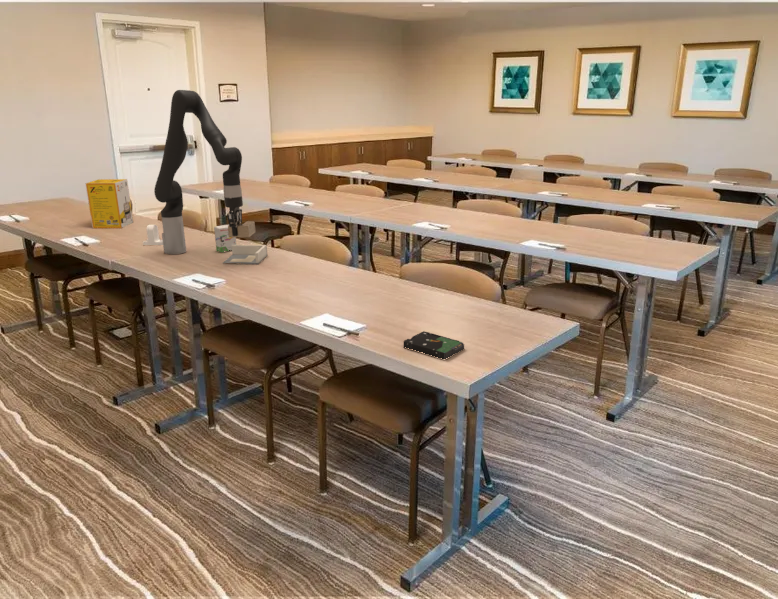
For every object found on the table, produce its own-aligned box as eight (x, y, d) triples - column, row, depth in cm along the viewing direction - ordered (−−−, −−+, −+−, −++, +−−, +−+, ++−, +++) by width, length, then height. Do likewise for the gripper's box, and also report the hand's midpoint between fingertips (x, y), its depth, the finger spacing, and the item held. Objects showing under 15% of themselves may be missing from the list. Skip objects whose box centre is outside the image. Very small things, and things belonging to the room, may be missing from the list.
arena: (222, 263, 272) (221, 252, 271) (233, 255, 287) (232, 244, 285) (258, 264, 271) (257, 253, 270) (267, 255, 285) (266, 245, 284)
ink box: (220, 253, 291) (218, 228, 287) (216, 251, 295) (213, 226, 291) (237, 250, 296) (235, 225, 292) (232, 248, 300) (230, 224, 296)
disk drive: (402, 350, 182) (445, 362, 173) (402, 341, 181) (445, 352, 172) (423, 339, 190) (464, 350, 181) (423, 330, 189) (465, 341, 180)
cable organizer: (147, 243, 312) (145, 223, 308) (166, 243, 311) (164, 223, 308) (142, 245, 307) (139, 225, 303) (162, 246, 306) (159, 226, 303)
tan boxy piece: (228, 237, 270) (227, 225, 269) (235, 232, 280) (234, 221, 278) (249, 237, 270) (248, 225, 268) (255, 232, 279) (254, 221, 278)
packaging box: (105, 222, 362) (98, 179, 354) (133, 222, 362) (127, 179, 354) (92, 228, 347) (85, 183, 339) (121, 228, 346) (115, 183, 339)
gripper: (229, 193, 273) (233, 231, 279) (219, 198, 260) (223, 238, 265) (246, 192, 273) (249, 231, 278) (236, 198, 259) (240, 238, 265)
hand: (236, 234), depth 272 cm, fingers closed on tan boxy piece, 4 cm apart
